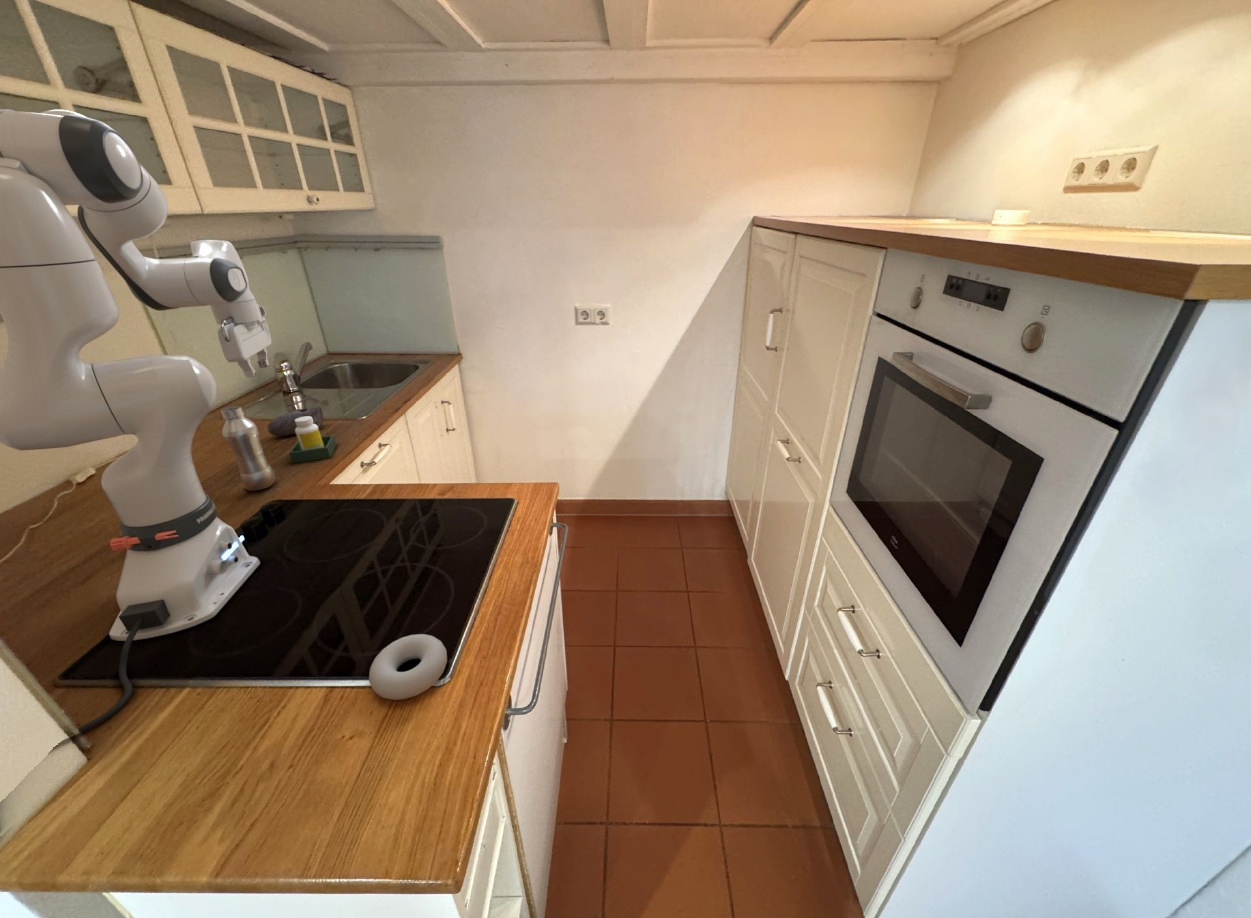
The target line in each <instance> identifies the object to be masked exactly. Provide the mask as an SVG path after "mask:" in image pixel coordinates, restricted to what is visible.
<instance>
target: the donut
mask: <svg viewBox="0 0 1251 918" xmlns="http://www.w3.org/2000/svg"><path fill="white" fill-rule="evenodd" d="M447 654H448V652H447V649H446V647H445V645H444V644H443V642H442V641H441V640H440V639H438V638H436V637H435V636H433V635H430V634H425V633H421V634H420V633H417V634H410V635H407V636H403V637H400V638H398V639H397V640H394V641H392V642H391V643H390V644H388V645H387V646H386V647H384V648H382V650H381V651H380V652H379V653H378V654H377V655H376V656H375V658H374V659H373V661H372V663H371V665H370V668H369V675H368V682H369V684H370V686H371V689H372V690H373V692H374V693H375V694H377V695H378V696H380V697H381V698H383V699H387V700H391V701H398V700H407V699H409V698H413V697H416V696H418V695H420V694H422V693H424V692H426V691H427V690H428V689H430V688H432V686H433V685H434V684H436V683H437V682H438V681H439V679H440V678H441V677H442V675H443V673H444V671H445V669H446V666H447V663H448V655H447ZM412 660H420V662H419V663H418V664H417V665H416V666H415V667H413V668H412V669H409V670H406V671H398V669H399V668H400V667H401V666H402V665H403V664H405V663H407V662H409V661H412Z"/></svg>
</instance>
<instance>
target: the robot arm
mask: <svg viewBox="0 0 1251 918" xmlns="http://www.w3.org/2000/svg"><path fill="white" fill-rule="evenodd" d="M67 206H77V212H76V213H77V219H78V222H79V225H80V226H79V225H78V223H77V222H76V220H75V219H74V217H73V215H72V214H71V212H70V211H69V210H68V208H67ZM168 215H169V203H168V199H167V197H166V195H165V193H164V191H163V190H162V188H161V186H160V184H159V183H157V181H156V180H155V178H154V177H153V176H152V175H151V174H150V173H149V172H148V170H147V169H146V168H145V167H144V166H143V165H142V164H141V163H140V162H139V159H138V157H137V155H136V153H135V151H134V150H133V148H132V146H131V144H129V142H128V141H127V140H126V139H125V138H124V137H123V136H122V135H121V134H120V132H118V131H116V130H115V129H113V128H112V127H111V126H109V125H108V124H106V123H104V122H103V121H101V120H98V119H94V118H90V117H87V116H85V115H83V114H81V113H78V112H76V111H71V110H66V109H48V110H45V111H41V112H32V111H18V110H17V111H15V110H13V109H6V108H5V109H4V108H3V109H2V108H1V109H0V315H1V317H2V320H3V322H4V325H5V329H6V334H7V349H6V350H7V351H6V355H5V359H4V361H3V363H2V365H1V367H0V444H2V445H4V446H6V447H8V448H11V449H14V450H17V451H34V450H35V451H36V450H37V451H38V450H49V449H61V448H69V447H74V446H78V445H83V444H89V443H92V442H96V441H102V440H106V439H107V440H108V439H111V438H116V437H119V436H124V435H134V436H135V437H136V438H137V442H136V443H135V444H134V446H133V447H131V448H130V450H128V451H127V452H125V453H124V454H122V455H120V456H119V457H117V458H116V459H115V460H114V461H113V462H111V463H110V464H109V465H108V466H107V467H106V468H105V469H104V471H103V472H102V475H101V479H100V482H101V488H102V490H103V491H104V494H105V495H106V498H108V501H109V502H110V504H111V506H112V508H113V509H114V511H115V513H116V515H117V516H118V519H119V528H120V532H119V533H120V537H114V538H113V537H112V538H111V539H110V541H109V546H110V549H111V550H112V551H114V552H118V551H122V550H126V552H125V556H124V557H125V558H124V561H123V564H122V568H121V572H120V576H119V581H118V584H117V589H116V592H115V599H116V602H117V605H118V607H119V613H118V614H117V616H116V618H115V621H114V623H113V624H112V626H111V628H110V630H109V632H108V635H109V637H110V639H111V640H112V641H117V642H119V641H120V642H124V644H123V645H122V649H121V653H120V656H119V668H118V677H119V681H120V684H121V685H122V687H123V689H124V693H123V695H122V697H121V698H120V699H119V701H118V702H117V703H116V704H114V705H113V706H112V707H111V708H110V709H108V710H107V711H106V712H104V713H103V714H102V715H101V714H100V715H99V716H98V717H96V718H94V719H92V720H90V721H89V722H87V723H84V724H83V725H80V726H79V727H77V728H78V729H79V732H81V733H84V732H85V731H87V730H90V729H91V728H94V727H95V726H97V725H99V724H101V723H102V722H104V721H106V720H108V719H109V718H111V716H113V715H114V714H116V713H117V712H118V711H119V710H120V709H121V708H122V707H123V706H124V705H125V704H126V703H127V702H128V701H129V699H130V698H131V696H132V694H133V689H134V688H133V685H132V683H131V681H130V679H129V677H128V673H127V667H128V657H129V651H130V648H131V646H132V643H133V641H139V640H146V639H150V638H155V637H160V636H164V635H168V634H172V633H177V632H180V631H184V630H186V629H190V628H193V627H195V626H197V625H200V624H202V623H204V622H207V621H209V620H211V619H213V618H214V617H215V616H216V615H217V614H218V613H219V612H220V611H221V610H222V609H223V608H224V606H225V605H226V604H227V603H228V601H229V600H230V599H232V597H233V596H234V595H235V593H237V591H238V590H239V589H240V588H241V587H242V586H243V584H245V582H246V581H247V579H248V578H249V577H250V576H251V575H252V574H253V573H254V571H255V570H256V569H257V568H259V566H260V565H261V561H260V559H259V558H258V557H257V556H254V555H250V554H249V553H248V552H247V550H246V548H245V546H244V545H243V541H245V537H244V535H240V537H239V536H238V534H237V533H236V531H235V529H234V528H233V527H232V526H231V525H229V524H227V523H226V522H225V521H223V520H221V519H220V517H218V510H217V509H216V505H215V502H214V501H213V499H211V497H210V495H208V494H207V493H205V491H204V488H203V487H202V484H201V481H200V478H199V476H198V473H197V470H196V467H195V463H194V461H193V456H192V446H193V445H192V444H193V440H194V436H195V434H196V431H197V429H198V428H199V426H200V424H201V422H202V421H203V420H204V418H205V417H206V416H208V415H209V413H211V411H212V410H213V409H214V407H215V405H216V403H217V401H218V396H219V395H218V394H219V389H218V383H217V381H216V378H215V377H214V375H213V374H212V372H211V371H210V369H208V367H207V366H205V365H204V364H203V363H202V362H200V361H199V360H197V359H196V358H194V357H191V356H189V355H187V354H149V355H148V354H147V355H142V356H141V355H140V356H135V357H127V358H122V359H115V360H109V361H108V360H107V361H101V362H94V363H93V362H85V361H83V359H82V358H81V356H80V352H81V350H82V348H84V347H85V346H86V345H88V344H90V343H91V342H93V341H95V340H97V339H98V338H100V337H102V336H103V335H105V334H107V332H110V330H112V329H113V328H114V327H115V326H116V324H117V323H118V322H119V319H120V308H119V306H118V303H117V302H116V298H115V297H114V295H113V292H112V290H111V288H110V285H109V284H108V282H107V280H106V278H105V275H104V273H103V271H102V268H101V267H100V265H99V263H98V261H97V259H96V256H95V254H94V252H93V249H92V248H91V246H90V244H89V242H88V240H87V239H86V237H88V239H89V240H90V241H91V243H92V244H93V245H94V247H95V248H96V249H97V251H99V252H100V254H101V255H102V256H103V257H104V258H105V260H106V261H107V262H108V263H109V264H110V265H111V266H112V268H114V270H115V271H116V272H117V273H118V275H120V277H121V278H122V279H123V280H124V282H125V283H126V285H127V287H128V289H129V291H130V292H131V293H132V295H133V296H134V298H136V299H137V300H138V301H139V302H140V303H141V304H143V305H145V306H146V307H148V308H151V309H152V310H155V311H159V312H163V311H169V310H175V309H176V310H177V309H180V308H181V309H182V308H193V307H194V308H195V307H207V306H209V307H210V310H211V312H212V315H213V316H214V321H215V322H216V324H217V325H219V328H218V329H217V336H218V341H219V344H220V347H221V350H222V353H223V357H224V358H225V360H226V361H227V362H228V363H237V365H238V366H239V367H240V369H241V370H242V371H243V373H244V376H245V377H246V378H254V377H255V376H257V373H256V369H255V368H254V367H253V365H252V364H251V359H250V358H251V357H254V356H255V355H256V356H257V364H258V367H259V368H261V369H265V368H268V367H269V366H270V363H269V360H268V351H267V348H268V347H270V346H271V345H272V335H271V332H270V327H269V325H268V321H267V319H266V318H265V317H266V316H267V312H266V309H265V307H263V306H262V305H260V304H259V303H257V300H256V297H255V296H254V294H253V292H252V291H251V288H250V283H249V281H250V280H249V277H248V274H247V272H246V268H245V266H244V264H243V262H242V260H241V259H242V258H241V257H240V255H239V253H238V252H237V250H236V248H235V246H234V244H233V243H232V242H231V241H228V240H226V239H221V238H197V239H195V240H192V241H190V244H189V245H190V251H191V255H192V256H190V257H180V258H179V257H178V258H153V257H147V256H144V255H143V254H142V253H141V252H140V250H139V249H138V248H137V246H136V245H135V243H134V241H137V240H141V239H145V238H147V237H149V236H151V235H153V234H155V233H156V232H157V231H159V230H160V229H161V228H162V227H163V225H164V224H165V222H166V220H167V217H168ZM80 227H81V228H82V230H81V228H80ZM82 231H83V232H84V233H85V235H86V236H85V235H84V233H83V232H82Z"/></svg>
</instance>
